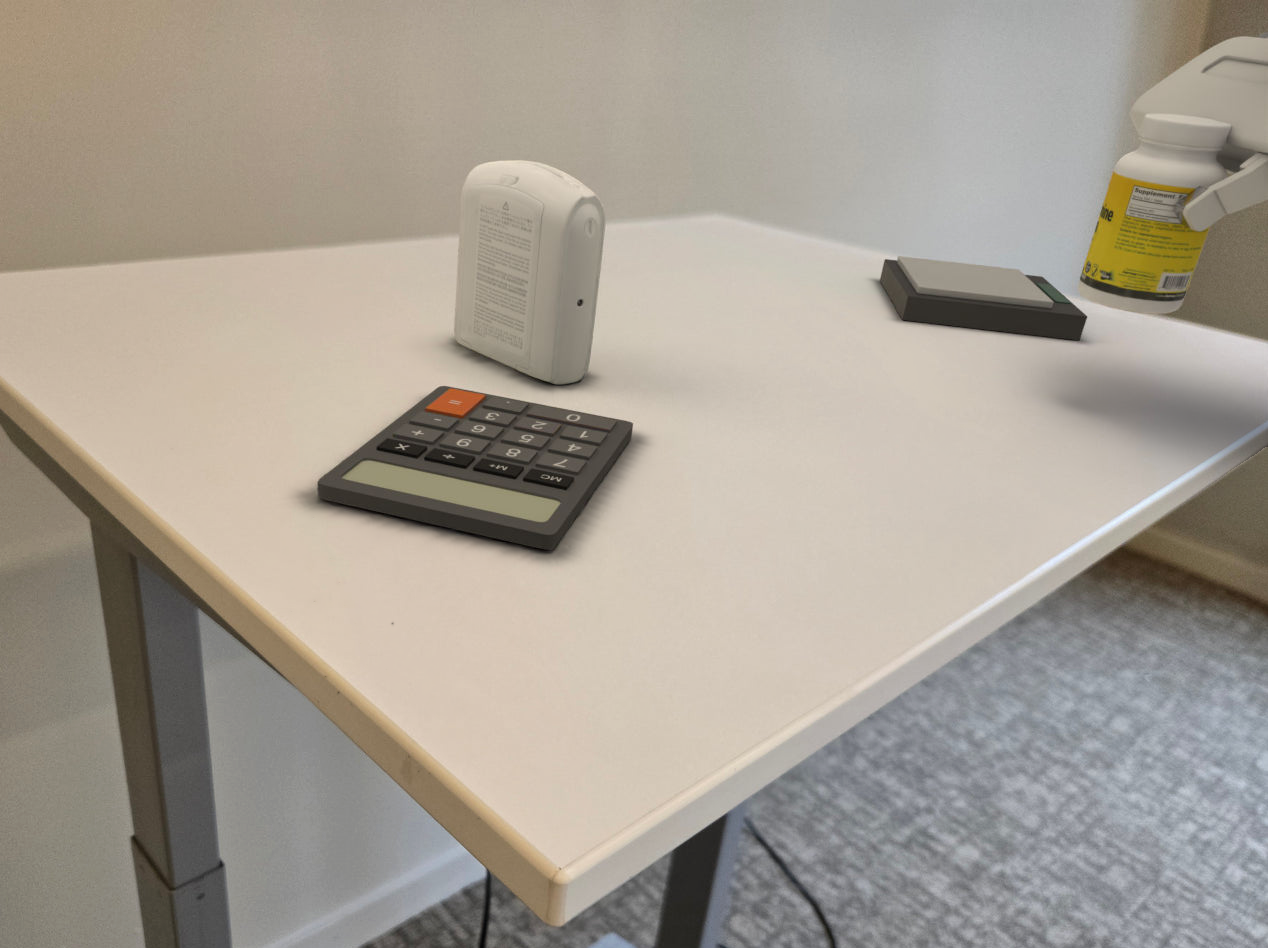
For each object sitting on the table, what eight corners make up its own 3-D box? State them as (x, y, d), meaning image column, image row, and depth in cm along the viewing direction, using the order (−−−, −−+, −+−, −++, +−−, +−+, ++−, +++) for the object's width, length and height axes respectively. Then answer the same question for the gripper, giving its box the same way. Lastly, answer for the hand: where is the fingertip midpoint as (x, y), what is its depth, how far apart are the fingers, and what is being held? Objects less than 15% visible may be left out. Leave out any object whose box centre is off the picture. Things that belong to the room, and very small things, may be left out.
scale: (1036, 298, 97) (1044, 269, 96) (1079, 340, 86) (1090, 308, 85) (879, 280, 98) (886, 252, 97) (902, 320, 87) (909, 288, 86)
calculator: (635, 419, 60) (553, 532, 47) (633, 434, 60) (552, 551, 47) (441, 381, 62) (314, 479, 50) (440, 396, 63) (314, 497, 50)
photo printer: (599, 378, 69) (621, 176, 63) (552, 391, 66) (570, 181, 60) (491, 334, 75) (502, 147, 69) (444, 344, 72) (451, 150, 66)
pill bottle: (1085, 283, 73) (1141, 108, 67) (1186, 303, 70) (1252, 122, 64) (1064, 300, 68) (1122, 114, 63) (1171, 323, 65) (1241, 130, 60)
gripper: (1235, -8, 70) (1047, 139, 74) (1495, 7, 52) (1228, 200, 56) (1272, 72, 72) (1088, 210, 76) (1532, 112, 55) (1274, 290, 58)
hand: (1149, 207), depth 66 cm, fingers closed on pill bottle, 6 cm apart
